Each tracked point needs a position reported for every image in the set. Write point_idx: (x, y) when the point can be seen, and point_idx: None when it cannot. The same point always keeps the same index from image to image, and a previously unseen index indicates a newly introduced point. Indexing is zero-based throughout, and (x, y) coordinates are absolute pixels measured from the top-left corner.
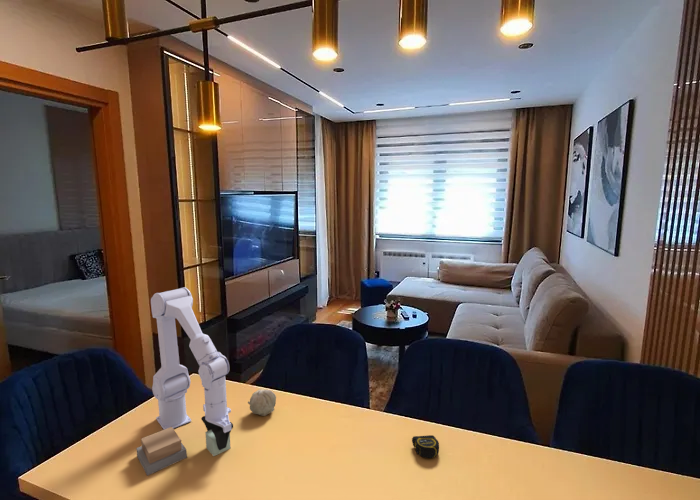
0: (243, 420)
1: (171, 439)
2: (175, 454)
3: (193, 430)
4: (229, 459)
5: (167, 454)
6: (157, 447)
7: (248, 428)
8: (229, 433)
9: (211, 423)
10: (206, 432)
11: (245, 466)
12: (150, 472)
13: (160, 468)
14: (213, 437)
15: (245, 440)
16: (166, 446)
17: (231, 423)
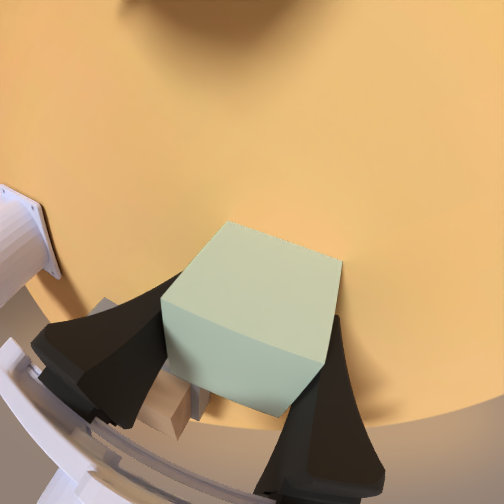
0: (151, 2)
1: (148, 412)
2: (200, 396)
3: (80, 234)
4: (400, 325)
5: (188, 404)
6: (164, 430)
7: (264, 17)
8: (358, 416)
9: (140, 382)
10: (178, 375)
11: (496, 326)
12: (207, 403)
13: (209, 392)
14: (259, 404)
15: (380, 146)
16: (174, 429)
17: (344, 489)
